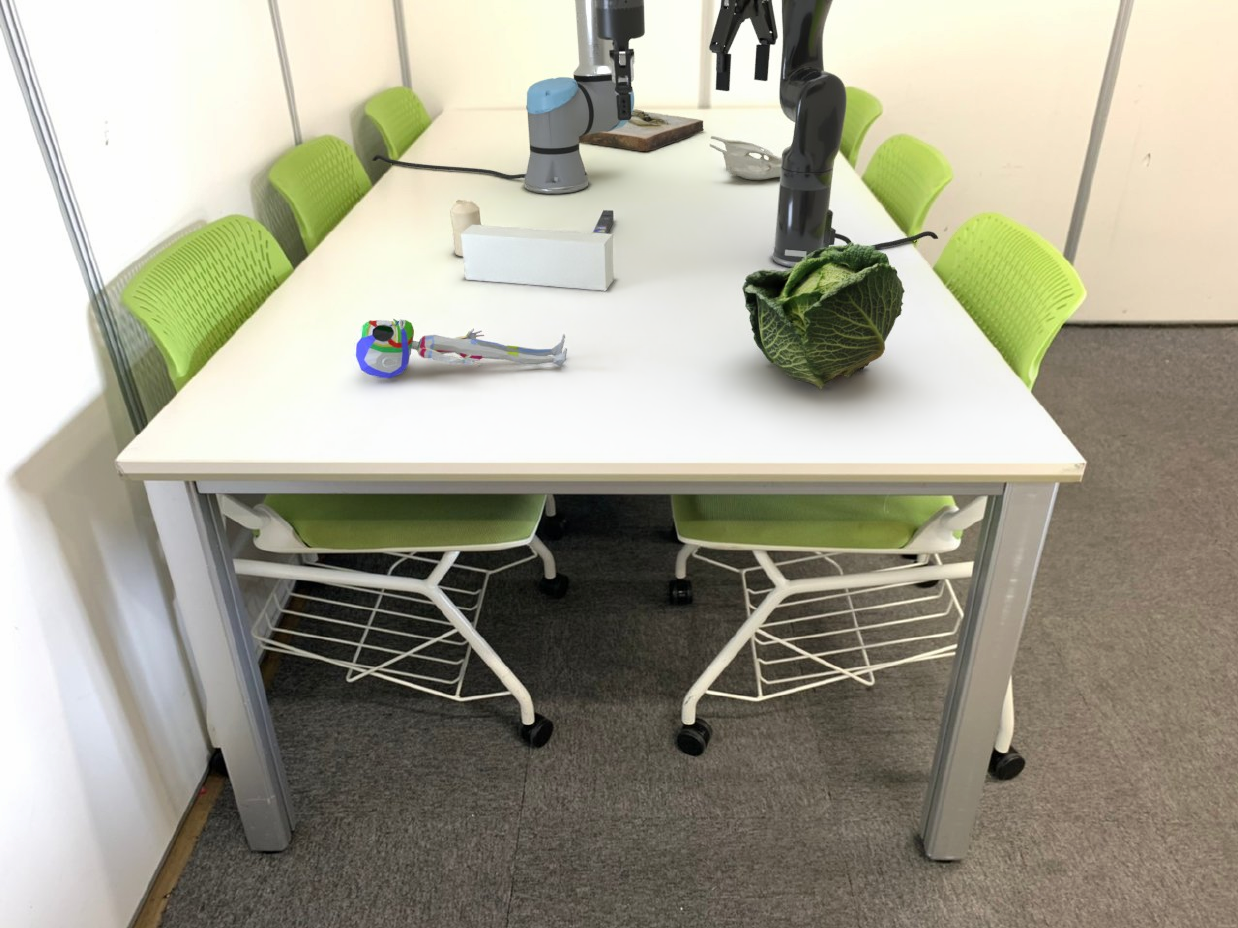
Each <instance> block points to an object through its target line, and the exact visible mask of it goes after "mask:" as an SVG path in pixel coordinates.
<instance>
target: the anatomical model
mask: <svg viewBox="0 0 1238 928" xmlns="http://www.w3.org/2000/svg"><path fill="white" fill-rule="evenodd" d="M710 139H711V140H715V141H719V142H721V143H723V144H724V146H725V150H724V149H722V148H721V147H718V146H716V145H714V144H711V143H709V147H711V148H712V149H715V150H716V151H718V152H721V153H722V155H723V160H724V162H725V171H729V172H730V174H731V175H733V176H739V177H741V178H743V179H746V180H750V181H752V180H754V181H756V180H757V181H759V180H760V181H761V180H768V179H772V178H780V172H781V159H782V157H779V156H777V155H775V154H774V153H773V152H771V151H770V150H769V149H768V148H765V147H762V146H760V145H758V144H754V143H751V142H748V141H747V142H746V141H742V140H734V139H726V138H722V137H718V136H714V135H711V136H710ZM751 154H758V155H759V156H761V157H759V158H756V157H754V156H753V155H751ZM765 156H766V157H767V158H768V159H766V158H765Z"/></svg>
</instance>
